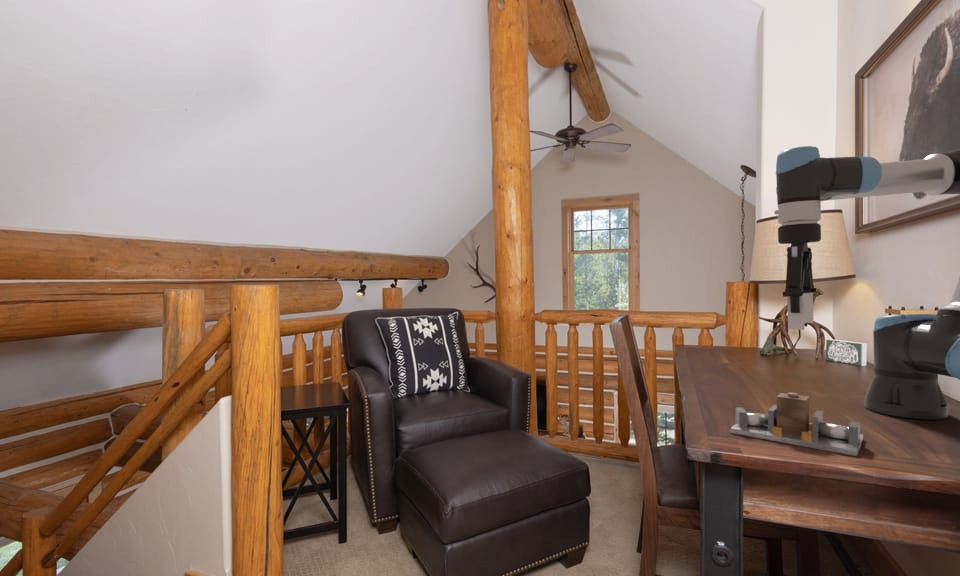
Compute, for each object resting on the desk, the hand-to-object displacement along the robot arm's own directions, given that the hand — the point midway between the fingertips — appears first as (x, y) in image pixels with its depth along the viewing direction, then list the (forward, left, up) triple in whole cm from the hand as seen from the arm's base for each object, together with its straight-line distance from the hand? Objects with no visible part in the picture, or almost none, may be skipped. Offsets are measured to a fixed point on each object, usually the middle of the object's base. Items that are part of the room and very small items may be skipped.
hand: (801, 326), depth 104 cm
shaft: (+10, +2, -21) cm, 23 cm away
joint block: (+3, +4, -21) cm, 21 cm away
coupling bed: (+3, +4, -22) cm, 22 cm away
